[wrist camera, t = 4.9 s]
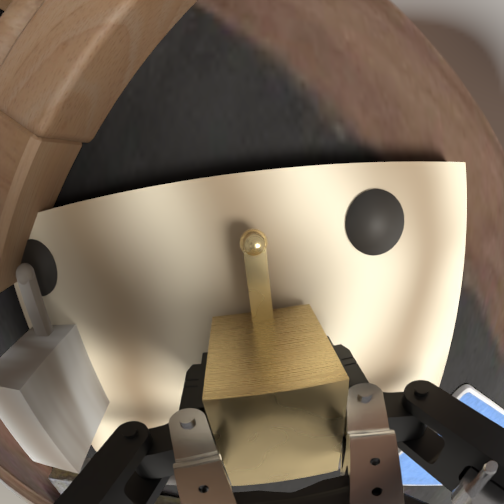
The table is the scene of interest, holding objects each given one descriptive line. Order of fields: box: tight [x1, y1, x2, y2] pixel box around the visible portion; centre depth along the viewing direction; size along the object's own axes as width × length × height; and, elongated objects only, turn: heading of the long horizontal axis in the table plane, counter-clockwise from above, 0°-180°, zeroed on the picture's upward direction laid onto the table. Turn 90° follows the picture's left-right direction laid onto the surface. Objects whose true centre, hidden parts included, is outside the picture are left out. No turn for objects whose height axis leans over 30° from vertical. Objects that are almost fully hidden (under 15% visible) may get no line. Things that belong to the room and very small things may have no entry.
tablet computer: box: [398, 384, 504, 485], centre depth 20 cm, size 19×13×1 cm, turn 55°
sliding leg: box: [202, 229, 349, 486], centre depth 10 cm, size 4×8×5 cm, turn 7°
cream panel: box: [0, 161, 467, 485], centre depth 11 cm, size 23×16×7 cm
